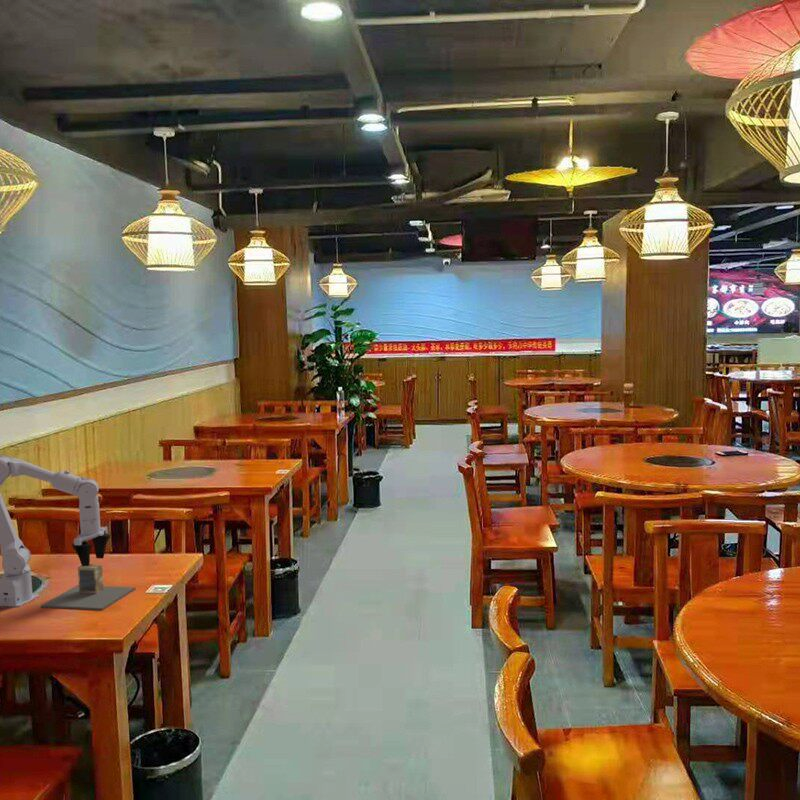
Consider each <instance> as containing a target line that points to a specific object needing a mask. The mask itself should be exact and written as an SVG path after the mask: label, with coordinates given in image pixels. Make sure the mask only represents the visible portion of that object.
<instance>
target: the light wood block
mask: <svg viewBox="0 0 800 800" xmlns="http://www.w3.org/2000/svg"><path fill="white" fill-rule="evenodd" d="M77 572H78V576H77V577H78V585H79V593H95V594H97V593H99V592H101V591H102V590H104V587H103V586H104V575H103V574H104V573H103V572H104V570H103V564H100V563H99V564H95V563H94V564H93V563H91V564H90V563H89V566H82V565H80V566H77Z"/></svg>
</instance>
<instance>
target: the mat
mask: <svg viewBox="0 0 800 800" xmlns="http://www.w3.org/2000/svg"><path fill="white" fill-rule="evenodd" d="M103 587H104V590H102V591H101V592H99V593H97V594H95V593H79V584H76V586H73V587H71V588H70V589H68V590H66V591H65V592H63V593H61V594H59V595H57V596H55V597H53V598H51V599H50V600H48V601H45V603H43V604H40V607H41V608H49V609H67V610H68V609H69V610H71V609H74V610H89V611H90V610H91V611H94V610H95V611H104V610H105V609H106V608H108V607H110V606H112V605H113V604H114V603H116V602H118V601H119V600H121V599H122V598H124V597H126V596H127V595H129V594H130V593H133V591H135V590H136V587H135V586H132V587H131V586H115V585H114V586H113V585H111V586H110V585H108V586H107V585H103Z"/></svg>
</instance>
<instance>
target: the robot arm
mask: <svg viewBox="0 0 800 800" xmlns="http://www.w3.org/2000/svg"><path fill="white" fill-rule="evenodd" d="M19 476H26V477H30V478H33V479H37V480H40V481H44V482H47V483H50V484H51V486H52V488H53V489H54V490H58V491H61V492H63V493H67V494H70V495H72V496H77V498H79V499H78V501H79V502H78V503H79V505H78V507H79V508H78V509H79V522H80V523H79V524H80V525H79V526H80V534H79V535H78V536H76V537H75V538H73V543H72V549H73V550H74V551H75V553H76V554H77V556H78V558H79V562H80V565H81V566H89V564H90V562H91V559H90V558H91V549H92V547H94V553H95V558H96V559H104V557H105V552H106V547H107V544H108V542H109V540H110V538H111V535H110V533H109V534H108V526H101V516H100V515H101V513H100V503H99V496H98V495H99V494H98V493H99V489H100V488H99V487H100V485H99V483H98V482H97V481H96V480H94V479H93V478H92V477H91V478H86V477H85V476H79V475H75V474H73V473H71V471H70V470H68V469H66V470H59V471H57V472H54V471H52V470H48V469H46V468H44V467H41V466H38V465H36V464H33V463H31V462H28V461H26V460H23V459H21V458H16V457H11V456H9V455H0V489H1V488H2V486H3V484H4V483H5V481H6V479H8V477H11V478H16V477H19ZM90 540H91V542H92V543H88V541H90ZM31 554H32V553H31V551H30V550H29V549H28V548H27V547H26V546H25V545H24V542H23V541H22V539H20V538H19V536H18V534H17V531H16V529H15V526H14V523H13V522H12V519H11V516H10V513H9V511H8V509H7V505H6V504H5V500H4V498H3V495H2V494H1V492H0V556H1V558H2V559H1V560H2V562H1V568H2V570H3V576H2V578H0V607H11V608H12V607H13V608H15V607H18V608H19V607H21V606H23V605H25V604H27V603H28V602H30V601H33V600H35V599H36V598H38V597H40V595H39V594H37V593H35V594H34V593H33V584H32V582H33V581H32V571H31V570H32V569H31V567H30V565H29V562H30V560H31V556H32V555H31Z"/></svg>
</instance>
